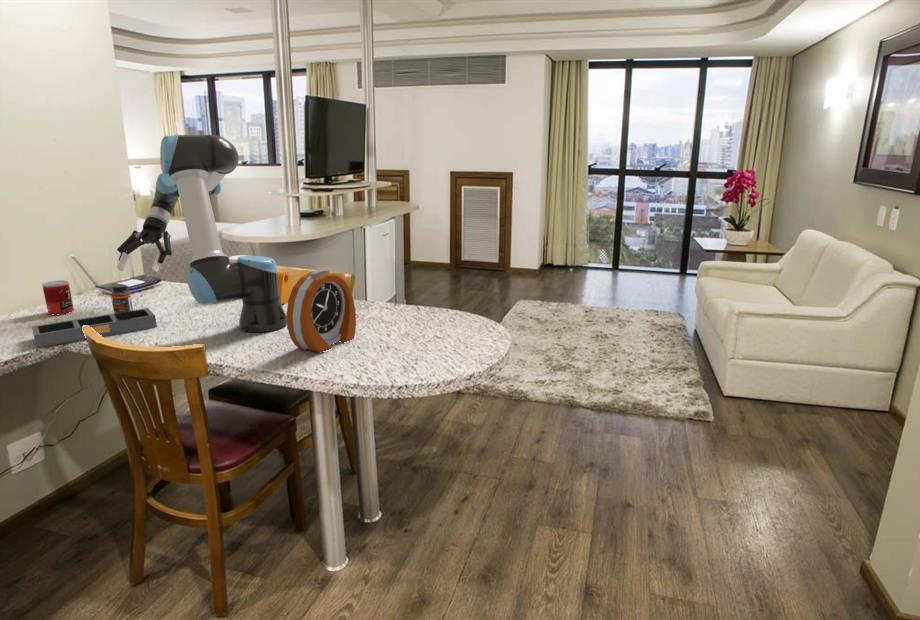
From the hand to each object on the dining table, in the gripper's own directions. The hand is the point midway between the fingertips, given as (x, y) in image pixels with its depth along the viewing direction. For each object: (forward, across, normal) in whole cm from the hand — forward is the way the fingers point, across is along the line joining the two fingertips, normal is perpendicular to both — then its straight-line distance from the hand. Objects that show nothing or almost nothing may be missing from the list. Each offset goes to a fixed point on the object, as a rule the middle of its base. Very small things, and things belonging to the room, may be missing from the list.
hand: (137, 269), depth 215 cm
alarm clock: (+30, -80, +10) cm, 86 cm away
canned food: (+16, +26, -4) cm, 31 cm away
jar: (-6, -27, -27) cm, 39 cm away
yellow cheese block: (0, -46, -20) cm, 50 cm away
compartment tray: (+30, -3, +9) cm, 31 cm away
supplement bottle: (+18, 0, -3) cm, 18 cm away
